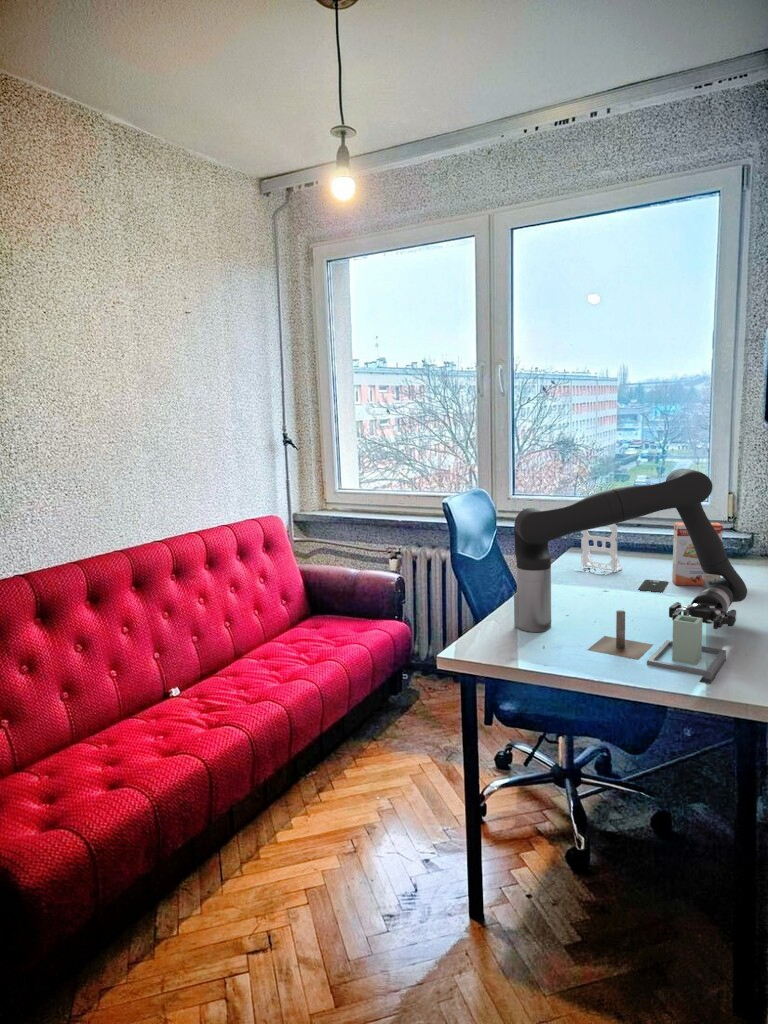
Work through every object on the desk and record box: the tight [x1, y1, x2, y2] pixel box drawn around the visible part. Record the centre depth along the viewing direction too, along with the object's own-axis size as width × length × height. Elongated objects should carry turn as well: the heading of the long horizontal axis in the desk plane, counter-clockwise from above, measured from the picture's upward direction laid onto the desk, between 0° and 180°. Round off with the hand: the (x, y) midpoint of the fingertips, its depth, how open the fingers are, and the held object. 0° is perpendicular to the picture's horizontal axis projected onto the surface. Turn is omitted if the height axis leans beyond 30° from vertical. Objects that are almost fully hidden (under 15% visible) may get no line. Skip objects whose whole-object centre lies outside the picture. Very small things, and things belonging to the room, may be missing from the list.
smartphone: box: [637, 579, 669, 594], centre depth 210 cm, size 8×15×1 cm, turn 148°
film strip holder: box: [574, 523, 623, 576], centre depth 235 cm, size 14×14×20 cm
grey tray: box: [646, 639, 727, 685], centre depth 143 cm, size 13×16×2 cm
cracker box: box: [671, 522, 724, 587], centre depth 210 cm, size 14×6×21 cm, turn 76°
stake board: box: [587, 609, 654, 660], centre depth 151 cm, size 12×12×10 cm
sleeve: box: [671, 614, 703, 666], centre depth 142 cm, size 5×5×10 cm
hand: (695, 622), depth 147 cm, fingers open, 8 cm apart
